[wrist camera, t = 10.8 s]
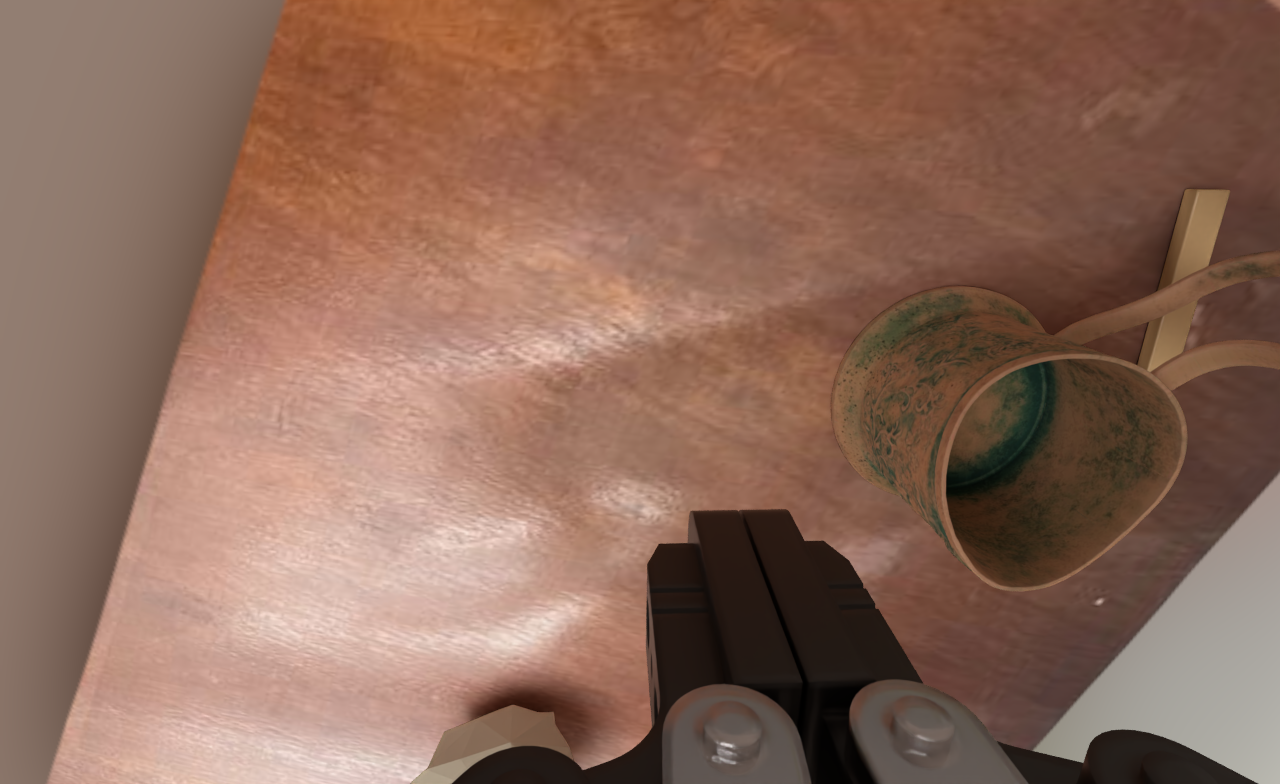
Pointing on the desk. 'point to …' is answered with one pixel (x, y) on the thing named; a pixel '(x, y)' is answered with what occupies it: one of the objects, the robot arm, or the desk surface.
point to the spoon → (1184, 271)
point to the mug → (1025, 421)
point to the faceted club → (491, 741)
